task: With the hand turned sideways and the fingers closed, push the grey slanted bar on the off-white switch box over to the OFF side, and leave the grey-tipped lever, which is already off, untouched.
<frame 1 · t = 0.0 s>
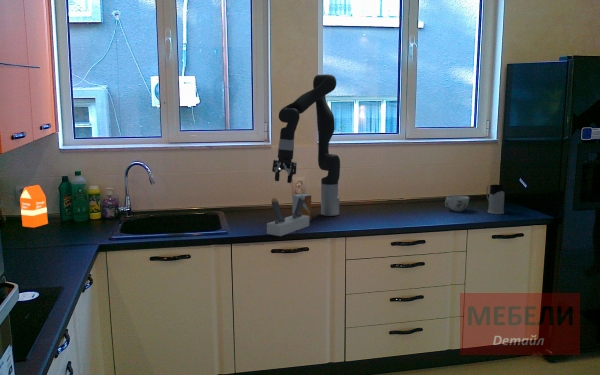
hand: (282, 182, 256), 22 cm above the worktop, tool pointing down, fingers open, 8 cm apart
switch box: (288, 229, 253), on the worktop
teacup: (455, 211, 295), on the worktop
small box: (301, 219, 275), on the worktop
orange juice: (35, 225, 265), on the worktop
glass holder: (492, 211, 293), on the worktop
grey lever: (299, 205, 256), point 11 cm above the worktop, hinge at 20.0°
grey slanted bar: (277, 209, 247), point 11 cm above the worktop, hinge at -20.0°
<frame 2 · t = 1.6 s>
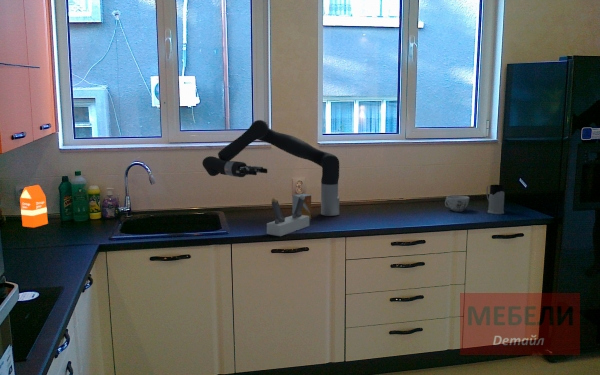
hand: (261, 171, 249), 28 cm above the worktop, tool horizontal, fingers open, 7 cm apart
nothing on the worktop moved.
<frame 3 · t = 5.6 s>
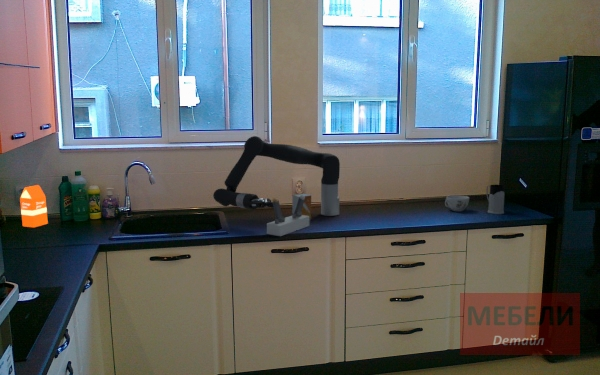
hand: (274, 205, 247), 13 cm above the worktop, tool horizontal, fingers closed
grey slanted bar: (277, 209, 247), point 11 cm above the worktop, hinge at -16.9°, touching gripper
everything else where it was.
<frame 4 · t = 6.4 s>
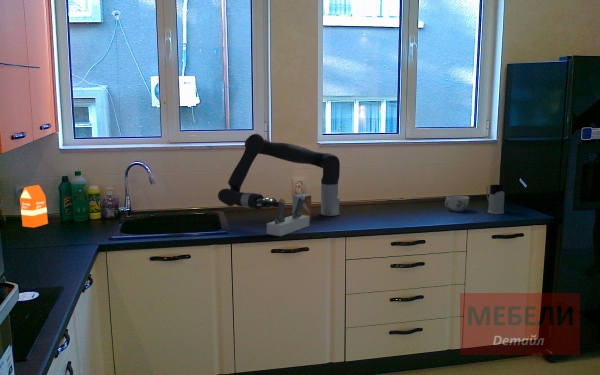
hand: (280, 204, 245), 14 cm above the worktop, tool horizontal, fingers closed
grey slanted bar: (280, 210, 245), point 11 cm above the worktop, hinge at 7.9°, touching gripper
everything else where it was.
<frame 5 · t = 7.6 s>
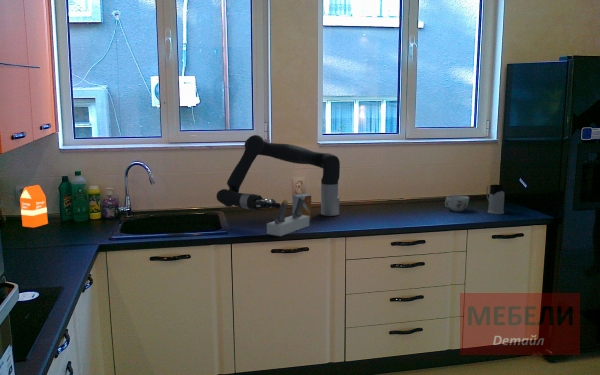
hand: (279, 205, 245), 13 cm above the worktop, tool horizontal, fingers closed
grey slanted bar: (282, 210, 245), point 11 cm above the worktop, hinge at 19.8°
everything else where it was.
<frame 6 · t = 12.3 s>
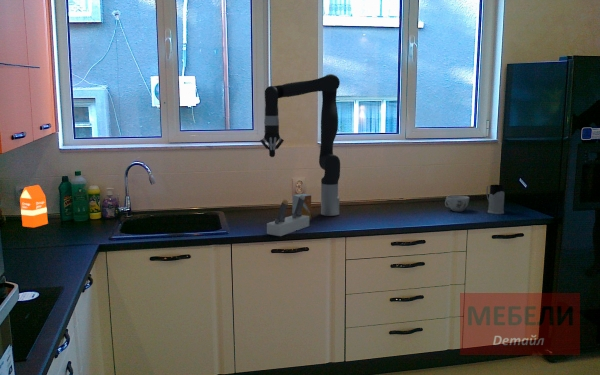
hand: (272, 156, 279), 32 cm above the worktop, tool pointing down, fingers closed
nothing on the worktop moved.
at the end: grey slanted bar at +20° (first picture: -20°); grey lever at +20° (first picture: +20°) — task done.
